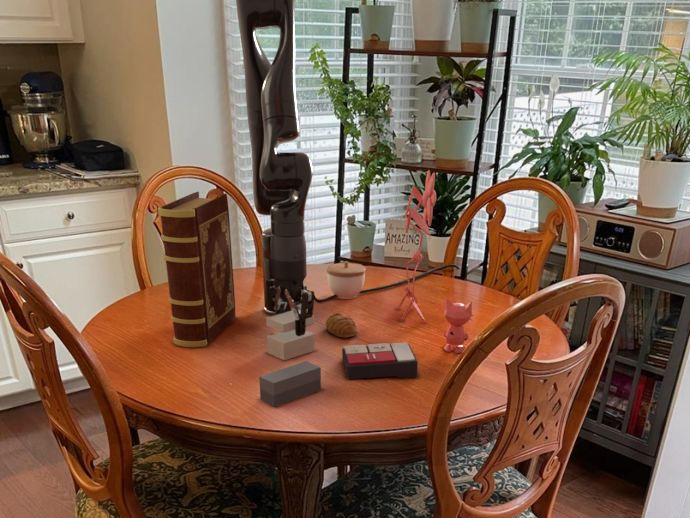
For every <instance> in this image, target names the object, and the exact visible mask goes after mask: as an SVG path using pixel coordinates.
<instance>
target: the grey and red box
mask: <svg viewBox="0 0 690 518" xmlns="http://www.w3.org/2000/svg"><path fill="white" fill-rule="evenodd" d="M341 356H342V364H343V367H344V371H345V375H346V379H347V380H358V379H372V378H385V377H388V378H389V377H397V378H399V379H406V378H417V377H418V359H417V357H416V355H415V353H414V351H413V349H412V347H411V345H410V344H409V343H408V342H395V343H389V342H383V343H381V342H380V343H369V344H367V345H366V344H354V345H353V344H352V345H344V347H342V348H341Z"/></svg>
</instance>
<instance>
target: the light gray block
mask: <svg viewBox="0 0 690 518" xmlns="http://www.w3.org/2000/svg"><path fill="white" fill-rule="evenodd" d="M315 341H316V339H315V333H312V332H310V331H307V330H306V332H305V334H304V335H302V336H297V335H296V334H295V330H292V331H289V332H285V333H282V332H280V331H279V332H277V333H274V334H273V333H272V334H269V335H267V336H266V350H267V354H269V355H271V356H274V357H275V358H277V359H279V360H282V361H286V360H290V359H293V358H296V357H299V356H302V355H306V354H309V353H313V352H315V350H316V349H315V348H316V346H315V343H316V342H315Z"/></svg>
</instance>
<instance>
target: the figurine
mask: <svg viewBox="0 0 690 518" xmlns="http://www.w3.org/2000/svg"><path fill="white" fill-rule="evenodd" d="M435 182H436V173H435V172H432V174H431V170H430V169H427V172H426V175H425V183H424V184H425V185H424V191H423V192H422V193H421V191H420V190H419V189H418V188H417V187H416V186H415V185H413V186H412V187H411V192H410V196H409V200H408V203H407V206H406V210H405V213H404V220H405V223H406V224H405V225H406V226H405V233H406V234H409V228H410V226H412V227H413V228H414V229H415V230H416V231H417V232H418V233H420V240H419V245H418V251H416V252H414V253H413V254H412V255H411V259H410V260H409V261H407V262H405V268H406V276H407V277H406V279H408V282H407V286H406V287H405V288H404V289H405V294H404V296H403V297H402V299H401V301H400V303H399V305H398V306H397V308H396V309H397V310H398V311H400V309H401V307H402V306H403V304H404V302H405V300H406V298H408V299H409V301H410V302H409V304H408V306H407V307H406V309H405V311H404V312H403V314H402V316H401V318H400V322H403V321H404V319H405V317H406V315H407V314H408V312H409V310H410V308H411V306H412V307H413V308H414V310H415V312H416V313H417V315H418V317H419V318H420V319H421V320H422V321H423V322H424V323H425V322H426V320H425V317H424V315H423V313H422V311H421V310H420V307H419V306H418V300H417V297H416V295H415V282H416V281H415V280H416V279H415V276H416V272H417V269H418V267H419V264H420V263H421V262H422V260H423V255H422V253H421V249H422V243H423V237H424V233H425V234H426V235H428V236H431V232H430V229H429V227H431V225H432V222H433V213H434V212H433V208H434V207H435V205H436V201H437V192H436V190H435ZM413 196H414V197H415V199H416V200H417V201H418V203H417V204H416V205H417V206H416V207H415V208H413V207H410V206H411V204H412V201H413V200H412V199H413ZM420 206H422V207H423V214H420V213H419V212H418V211H417V210H418V209H419V208H420ZM422 215H423V216H422ZM411 219H412V220H413V221H414V223H415V224H416V225H417V226H416V225H415V224H414V223H412V222H411ZM423 232H424V233H423ZM412 262H413V263H415V264H416V266H415V268H414V271H413V273H412V277H413V280H412V289H411V286H410V281H409V278H410V276H409V267H408V264H409V263H412ZM431 304H432V305H437V306H439V307H442V308H444V305H441V304H438V303H434V302H431ZM402 328H404V329H407V326H401V329H402Z"/></svg>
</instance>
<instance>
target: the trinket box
mask: <svg viewBox="0 0 690 518" xmlns="http://www.w3.org/2000/svg"><path fill="white" fill-rule="evenodd" d="M326 279H327V285H328V289H329V290H330V292H331V293H332V294H333V295H337V296H338V297H336V298H337V299H341V300H350V299H351V300H352V299H355V298H357V297H358V295H360V294H359V293H360V291H362V290H363V288H364V286H365V280H366V266H364V265H361V264H359V263H353V262H352V263H351V262H349V261H348V260H347V261H344V262H338V263H333V264H332V263H331V264H329V265H327V267H326Z"/></svg>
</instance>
